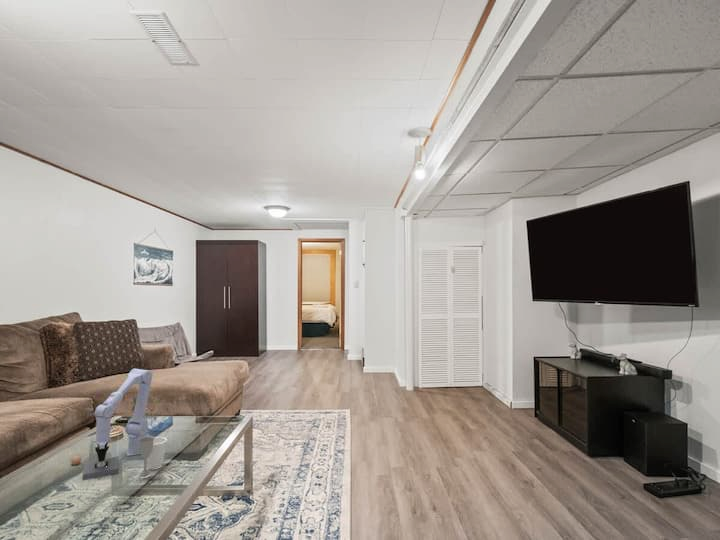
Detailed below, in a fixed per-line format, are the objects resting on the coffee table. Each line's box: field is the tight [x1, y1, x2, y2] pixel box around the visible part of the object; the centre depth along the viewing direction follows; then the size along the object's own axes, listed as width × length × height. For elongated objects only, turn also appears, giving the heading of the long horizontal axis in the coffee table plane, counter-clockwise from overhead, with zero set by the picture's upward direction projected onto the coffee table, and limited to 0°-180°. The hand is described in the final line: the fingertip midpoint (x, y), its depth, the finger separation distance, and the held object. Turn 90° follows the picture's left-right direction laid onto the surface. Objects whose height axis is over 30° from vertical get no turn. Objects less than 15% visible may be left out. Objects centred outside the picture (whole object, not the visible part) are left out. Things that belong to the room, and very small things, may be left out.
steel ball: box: [96, 462, 106, 468], centre depth 197 cm, size 4×4×4 cm
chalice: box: [138, 435, 155, 477], centre depth 193 cm, size 7×7×18 cm
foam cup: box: [146, 436, 168, 470], centre depth 203 cm, size 10×9×13 cm
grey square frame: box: [82, 456, 119, 480], centre depth 197 cm, size 14×14×2 cm
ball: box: [70, 455, 82, 466], centre depth 202 cm, size 4×4×4 cm
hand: (101, 457), depth 197 cm, fingers open, 7 cm apart
